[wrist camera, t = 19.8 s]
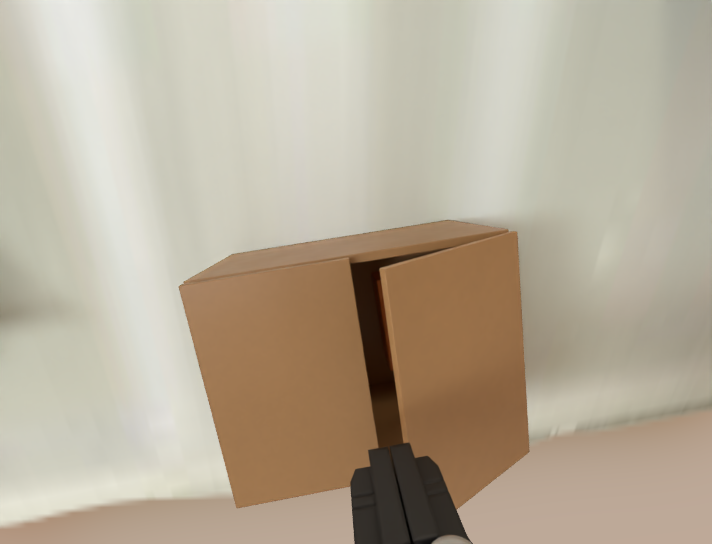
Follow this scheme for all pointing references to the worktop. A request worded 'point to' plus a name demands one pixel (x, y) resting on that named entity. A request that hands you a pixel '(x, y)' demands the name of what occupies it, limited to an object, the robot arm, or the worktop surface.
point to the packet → (382, 316)
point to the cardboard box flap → (460, 359)
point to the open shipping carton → (303, 356)
